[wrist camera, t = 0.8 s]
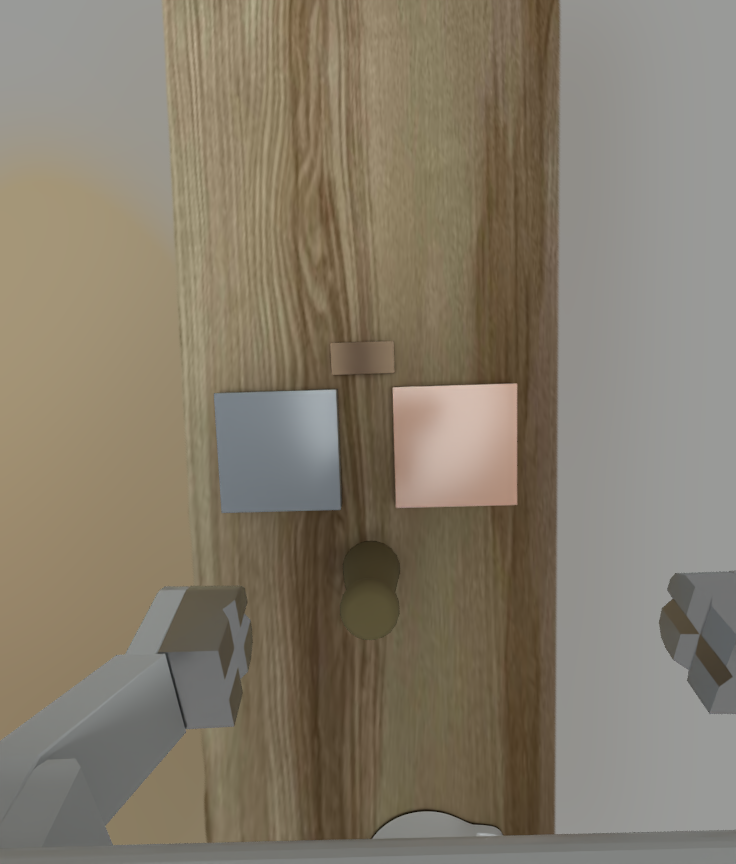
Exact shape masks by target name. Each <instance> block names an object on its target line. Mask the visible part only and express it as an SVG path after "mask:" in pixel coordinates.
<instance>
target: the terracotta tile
mask: <svg viewBox="0 0 736 864" xmlns="http://www.w3.org/2000/svg"><path fill="white" fill-rule="evenodd" d="M392 395H393V433H394V470H395V504H396V508H416V507H455V506H495V505H517V383H500V384H469V385H437V386H405V387H392Z"/></svg>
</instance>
